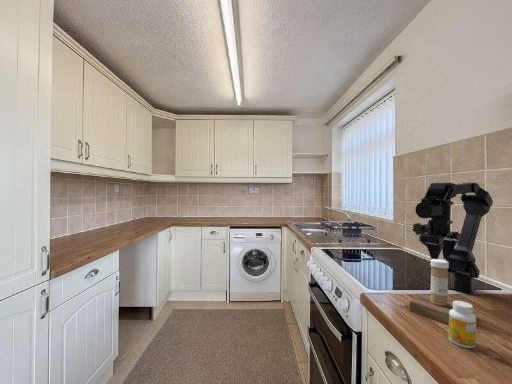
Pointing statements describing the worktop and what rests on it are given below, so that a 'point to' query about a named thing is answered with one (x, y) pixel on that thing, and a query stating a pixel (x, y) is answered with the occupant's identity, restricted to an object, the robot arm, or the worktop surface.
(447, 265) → the sprinkles bottle
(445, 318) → the walnut block
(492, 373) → the worktop surface
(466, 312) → the supplement bottle
